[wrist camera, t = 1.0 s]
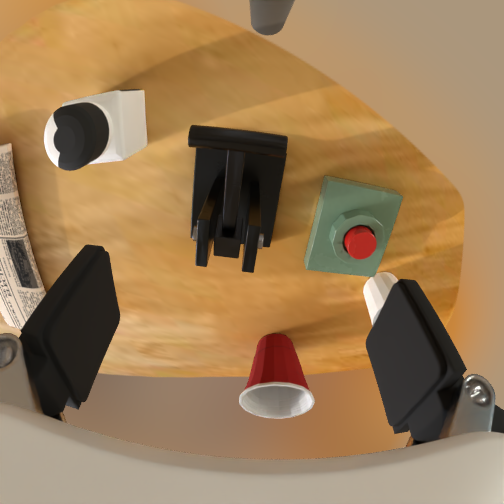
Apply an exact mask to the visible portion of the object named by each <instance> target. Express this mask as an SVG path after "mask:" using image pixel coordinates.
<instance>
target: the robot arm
mask: <svg viewBox="0 0 504 504" xmlns="http://www.w3.org/2000/svg"><path fill="white" fill-rule="evenodd" d="M119 321H120V311H119V307H118V302H117V297H116V292H115V286H114V281H113V275H112V269H111V263H110V257H109V253H108V252H107V251H105V249H104V248H103V247H102V246H95V245H85V246H84V247H83V249H82V250H81V251H80V252H79V253H78V254H77V256H76V257H75V258H74V259H73V260H72V262H71V263H70V264H69V265H68V267H67V268H66V269H65V270H64V272H63V273H62V274H61V275H60V277H59V278H58V279H57V280H56V282H55V283H54V284H53V286H52V287H51V288H50V290H49V291H48V292H47V293H46V295H45V296H44V298H43V299H42V300H41V302H40V303H39V304H38V306H37V307H36V309H35V310H34V311H33V313H32V314H31V316H30V317H29V319H28V320H27V321H26V323H25V324H24V326H23V327H22V329H21V330H20V331H21V333H22V334H21V335H20V337H19V338H18V337H17V336H16V335H14V334H11V333H3V334H0V504H504V410H503V409H501V408H500V407H498V406H497V405H495V392H494V389H493V387H492V386H491V384H490V383H489V382H488V381H487V380H486V379H485V378H484V377H482V376H480V375H477V374H471V375H468V376H467V377H466V378H465V379H464V378H463V376H462V375H463V374H464V372H465V371H466V370H467V369H466V367H465V365H464V363H463V361H462V359H461V357H460V355H459V353H458V351H457V349H456V347H455V346H454V344H453V342H452V340H451V339H450V336H449V335H448V333H447V331H446V329H445V327H444V326H443V324H442V322H441V321H440V319H439V317H438V315H437V314H436V312H435V310H434V309H433V307H432V305H431V304H430V302H429V301H428V299H427V297H426V296H425V294H424V293H423V291H422V289H421V288H420V286H419V285H418V283H417V282H416V281H415V280H407V279H400V280H398V281H397V283H394V284H393V286H392V288H391V290H390V292H389V294H388V296H387V299H386V301H385V303H384V305H383V307H382V309H381V311H380V313H379V315H378V317H377V319H376V321H375V323H374V325H373V327H372V329H371V331H370V333H369V335H368V337H367V339H366V349H367V352H368V355H369V358H370V361H371V364H372V367H373V371H374V374H375V377H376V380H377V384H378V387H379V391H380V394H381V398H382V401H383V405H384V408H385V412H386V416H387V419H388V423H389V425H390V426H393V430H394V433H395V434H397V433H402V432H408V431H409V430H410V433H411V437H410V438H409V441H408V443H407V445H406V447H404V448H399V449H393V450H388V451H382V452H376V453H368V454H361V455H353V456H344V457H332V458H318V459H317V458H316V459H279V460H278V459H274V460H273V459H245V458H230V457H219V456H209V455H201V454H193V453H186V452H180V451H173V450H168V449H162V448H157V447H152V446H147V445H143V444H138V443H133V442H129V441H125V440H122V439H118V438H114V437H110V436H106V435H103V434H100V433H96V432H93V431H90V430H86V429H83V428H80V427H77V426H74V425H71V424H68V423H67V422H66V419H65V417H64V414H63V410H64V408H65V405H67V406H70V407H73V408H76V409H79V407H80V405H81V402H85V401H86V400H87V398H88V395H89V393H90V390H91V388H92V385H93V382H94V380H95V377H96V375H97V373H98V370H99V368H100V365H101V363H102V361H103V358H104V356H105V354H106V351H107V349H108V347H109V344H110V342H111V340H112V338H113V335H114V333H115V331H116V329H117V327H118V324H119Z"/></svg>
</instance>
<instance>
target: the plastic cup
mask: <svg viewBox="0 0 504 504" xmlns="http://www.w3.org/2000/svg"><path fill="white" fill-rule="evenodd" d="M314 402H315V400H314V398H313V395H312V393H311V392H310V390H309V388H308V385H307V383H306V380H305V378H304V375H303V372H302V368H301V365H300V362H299V359H298V356H297V354H296V352H295V349H294V346H293V343H292V341H291V340H290V338H288V337H287V336H286V335H282V334H270V335H266V336H265V337H263V338H262V339H261V340H260V341H259V343H258V345H257V350H256V355H255V357H254V360H253V365H252V369H251V373H250V377H249V381H248V383H247V386H246V387H245V390H244V392H243V393H242V394H241V395H240V397H239V404H240V405H241V406H242V407H243V409H244V410H246V411H248V412H250V413H252V414H254V415H257V416H261V417H265V418H278V419H280V418H288V417H294V416H297V415H301V414H304V413H305V412H307V411H308V410H310V409H311V408H312V406H313V404H314Z"/></svg>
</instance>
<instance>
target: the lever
mask: <svg viewBox="0 0 504 504" xmlns="http://www.w3.org/2000/svg"><path fill="white" fill-rule="evenodd" d="M287 143H288V137H287V136H283V135H277V134H270V133H263V132H256V131H248V130H240V129H231V128H222V127H211V126H199V125H192V126H191V127H190V130H189V136H188V145H189V147H195V148H206V149H216V150H226V151H228V153H227V165H226V178H225V192H224V206H223V215H218V218H217V223H216V228H215V234H214V256H222V257H230V258H239V251H240V244H241V237H242V228H243V218H241V217H237V214H238V206H239V198H240V190H241V182H242V174H243V166H244V159H245V153H251V154H258V155H265V156H272V157H279V158H284V157H285V155H286V150H287Z"/></svg>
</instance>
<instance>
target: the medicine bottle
mask: <svg viewBox="0 0 504 504" xmlns="http://www.w3.org/2000/svg"><path fill="white" fill-rule="evenodd" d="M44 144H45V149H46V152H47V154H48V156H49V158H50V159H51V161H52V162H53V163H54V164H55V165H56V166H58V167H59V168H61V169H64V170H69V171H71V170H77V169H79V168H81V167H83V166H85V165H87V164H94V163H103V162H112V161H121V160H125V159H127V158H128V157H130V156H132V155H133V154H135V153H137V152H138V151H140V150H142V149H144V148H145V147H147V131H146V115H145V93H144V90H143V89H131V90H116V91H111V92H106V93H101V94H96V95H92V96H88V97H83V98H79V99H75V100H71V101H67V102H65V103H63V104H62V107H60V108H59V109H57V110H56V111H55V112H54V113H53V114H52V115H51V117H50V118H49V120H48V122H47V125H46V128H45V133H44Z"/></svg>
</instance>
